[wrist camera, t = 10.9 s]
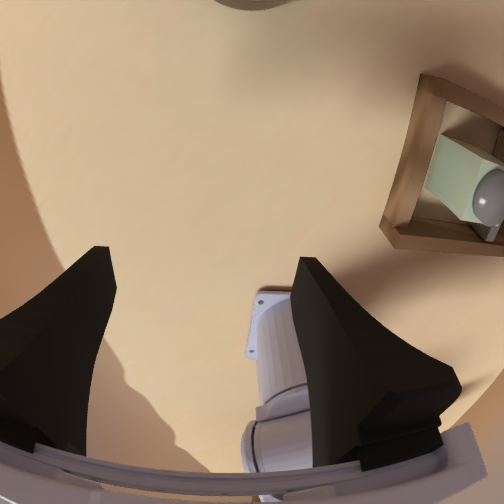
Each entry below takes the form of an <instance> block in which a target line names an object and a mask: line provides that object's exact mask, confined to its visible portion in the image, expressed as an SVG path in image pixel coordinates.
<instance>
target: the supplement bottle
mask: <svg viewBox="0 0 504 504" xmlns="http://www.w3.org/2000/svg"><path fill="white" fill-rule="evenodd" d="M215 1H216V2H218V3H220V4H222V5H225V6H227V7H231V8H235V9H240V10H250V11H253V10H265V9H270V8H274V7H277V6H280V5H282V4H284V3H286V2H288V1H290V0H215Z"/></svg>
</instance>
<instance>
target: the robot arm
mask: <svg viewBox="0 0 504 504" xmlns="http://www.w3.org/2000/svg"><path fill="white" fill-rule="evenodd" d="M116 289H117V286H116V281H115V276H114V271H113V266H112V261H111V256H110V250H109V247H104V246H94V247H93V248H91V249H90V250H89V251H88V252H86V253H85V254H84V255H83V256H82V257H81V258H80V259H78V260H77V261H76V262H75V263H74V264H73V265H72V266H70V267H69V268H68V269H67V270H66V271H65V272H64V273H63V274H62V275H60V276H59V277H58V278H57V279H56V280H54V281H53V282H52V283H51V284H49V285H48V286H47V287H46V288H45V289H44V290H42V291H41V292H40V293H38V294H37V295H36V296H35V297H33V298H32V299H30V300H29V301H28V302H26V303H25V304H24V305H22V306H21V307H19V308H18V309H16V310H14V311H13V312H11V313H10V314H8V315H6V316H5V317H4V318H2V319H0V498H2V499H4V500H6V501H8V502H10V503H12V504H437V503H439V502H441V501H443V500H445V499H447V498H449V497H451V496H453V495H455V494H457V493H459V492H461V491H463V490H465V489H467V488H469V487H470V486H473V485H474V484H476V483H478V482H480V481H482V480H483V479H485V478H486V477H487V476H488V474H487V471H486V468H485V465H484V462H483V459H482V456H481V453H480V450H479V447H478V445H477V442H476V439H475V437H474V434H473V431H472V429H471V426H470V424H469V423H464V424H462V425H459V426H456V427H454V428H451V429H448V430H446V431H444V432H442V433H441V434H440V432H439V430H438V427H439V426H441V423H442V422H441V420H440V417H439V415H441V414H442V413H443V412H444V411H445V410H446V409H447V408H448V407H449V406H450V405H452V404H453V403H454V402H455V400H456V399H457V398H458V397H459V395H460V393H461V391H462V387H461V384H460V382H459V380H458V378H457V376H456V374H455V372H454V370H453V368H452V367H451V366H449V365H447V364H445V363H443V362H441V361H439V360H437V359H434V358H432V357H430V356H429V355H427V354H425V353H423V352H422V351H420V350H418V349H416V348H415V347H413V346H411V345H410V344H408V343H407V342H405V341H404V340H402V339H401V338H399V337H398V336H397V335H395V334H394V333H392V332H391V331H390V330H388V329H387V328H386V327H384V326H383V325H382V324H381V323H380V322H378V321H377V320H376V319H375V318H374V317H372V316H371V315H370V314H369V313H368V312H367V311H366V310H365V309H364V308H362V307H361V306H360V305H359V304H358V303H357V302H356V301H355V300H354V299H353V298H352V297H351V296H350V295H349V294H348V293H347V292H346V290H345V289H344V288H343V287H342V286H341V285H340V284H339V283H338V282H337V281H336V280H335V278H334V277H333V276H332V275H331V274H330V273H329V272H328V271H327V269H326V268H325V267H324V266H323V265H322V264H321V263H320V262H319V261H318V260H317V259H316V258H315V257H300V259H299V263H298V267H297V271H296V275H295V279H294V283H293V287H292V291H291V292H282V291H259V292H257V293H256V295H255V302H254V308H253V314H252V320H251V326H250V332H249V338H248V344H247V350H246V358H247V359H250V360H256V367H257V378H258V389H259V400H260V406H259V407H256V420H253V421H251V422H249V423H248V424H247V426H246V428H245V431H244V433H243V435H242V439H241V457H242V463H243V467H244V470H245V473H203V472H185V471H173V470H162V469H153V468H145V467H138V466H131V465H125V464H119V463H114V462H108V461H103V460H99V459H94V458H89V457H86V427H87V411H88V402H89V393H90V386H91V380H92V374H93V368H94V364H95V360H96V356H97V353H98V350H99V347H100V344H101V341H102V338H103V335H104V332H105V329H106V326H107V323H108V320H109V317H110V314H111V311H112V308H113V303H114V299H115V294H116ZM260 300H263V301H260ZM83 478H84V479H83ZM86 479H88V480H86ZM89 480H92V481H96V482H101V483H105V484H110V485H115V486H120V487H126V488H132V489H139V490H146V491H153V492H161V493H171V494H172V493H173V494H183V495H200V496H255V495H258V496H259V498H260V500H261V502H225V501H223V502H222V501H194V500H179V499H167V498H158V497H150V496H143V495H136V494H130V493H124V492H118V491H111V490H106V489H104V488H102V486H101V485H100V484H98V483H95V482H92V481H89Z"/></svg>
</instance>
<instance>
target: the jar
mask: <svg viewBox="0 0 504 504" xmlns="http://www.w3.org/2000/svg"><path fill="white" fill-rule="evenodd" d="M425 187H426V188H427V189H428V190H429V191H430V192H431V193H432V194H433V195H435V196H436V197H437V198H438V199H439V200H440V201H441V202H442V203H443V204H444V205H445V206H447V207H448V208H449V209H450V210H451V211H452V212H453V213H454V214H455V215H456V216H457V217H458V218H459V219H460V220H463V221H469V222H475V223H481V224H484V225H486V226H489V227H491V226H498V225H499V223H501V222H502V221H503V220H504V163H503V162H502V161H500V160H498V159H497V158H495V157H494V156H492V155H490V154H489V153H487V152H485V151H484V150H482V149H480V148H479V147H476V146H474V145H471V144H468V143H466V142H463V141H460V140H457V139H454V138H451V137H448V136H445V135H442V134H440V136H439V140H438V144H437V147H436V151H435V154H434V158H433V161H432V165H431V168H430V171H429V174H428V178H427V181H426V184H425Z"/></svg>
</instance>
